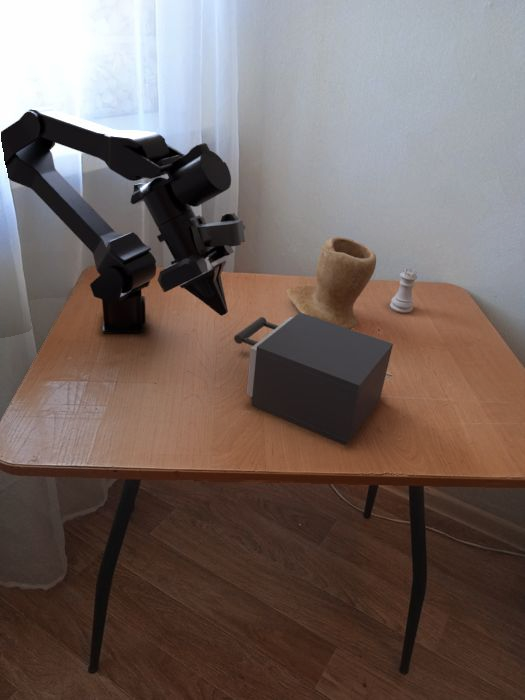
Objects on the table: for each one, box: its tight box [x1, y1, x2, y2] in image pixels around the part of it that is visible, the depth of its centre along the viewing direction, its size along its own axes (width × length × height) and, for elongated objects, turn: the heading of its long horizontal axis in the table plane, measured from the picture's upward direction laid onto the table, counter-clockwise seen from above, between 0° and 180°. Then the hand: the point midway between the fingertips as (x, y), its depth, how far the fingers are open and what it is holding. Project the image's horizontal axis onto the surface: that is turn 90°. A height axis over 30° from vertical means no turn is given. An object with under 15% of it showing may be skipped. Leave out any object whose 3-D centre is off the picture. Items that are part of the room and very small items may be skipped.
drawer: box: [233, 316, 294, 398], centre depth 80 cm, size 18×12×8 cm, turn 60°
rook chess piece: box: [389, 268, 418, 314], centre depth 108 cm, size 4×4×8 cm
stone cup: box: [286, 236, 377, 330], centre depth 101 cm, size 15×12×15 cm
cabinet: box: [250, 312, 394, 446], centre depth 79 cm, size 15×13×10 cm
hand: (224, 314), depth 85 cm, fingers closed
